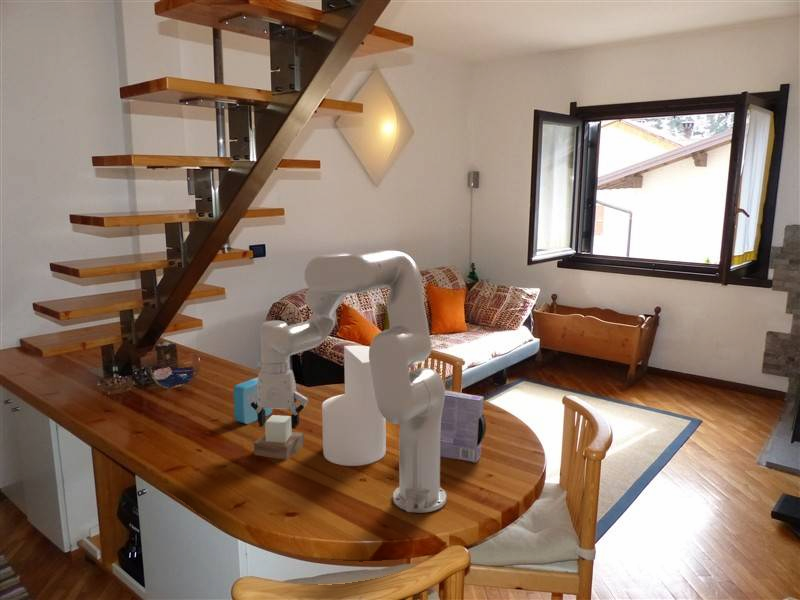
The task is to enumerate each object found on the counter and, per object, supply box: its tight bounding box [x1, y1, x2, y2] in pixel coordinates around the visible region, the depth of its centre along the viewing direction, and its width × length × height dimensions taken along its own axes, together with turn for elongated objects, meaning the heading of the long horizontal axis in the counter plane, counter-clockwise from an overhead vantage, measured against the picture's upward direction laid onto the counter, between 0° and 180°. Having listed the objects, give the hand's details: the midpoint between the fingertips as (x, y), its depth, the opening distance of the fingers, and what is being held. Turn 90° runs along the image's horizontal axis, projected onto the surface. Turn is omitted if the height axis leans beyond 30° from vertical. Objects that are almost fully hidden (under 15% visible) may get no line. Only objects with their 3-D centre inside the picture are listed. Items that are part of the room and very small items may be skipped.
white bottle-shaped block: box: [321, 345, 387, 467], centre depth 165 cm, size 17×17×28 cm
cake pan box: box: [440, 390, 487, 464], centre depth 164 cm, size 19×5×18 cm, turn 68°
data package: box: [233, 376, 274, 425], centre depth 191 cm, size 12×4×12 cm, turn 146°
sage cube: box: [264, 414, 293, 443], centre depth 168 cm, size 6×6×6 cm
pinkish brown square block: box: [253, 430, 305, 460], centre depth 169 cm, size 10×10×4 cm
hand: (278, 425), depth 168 cm, fingers open, 9 cm apart
